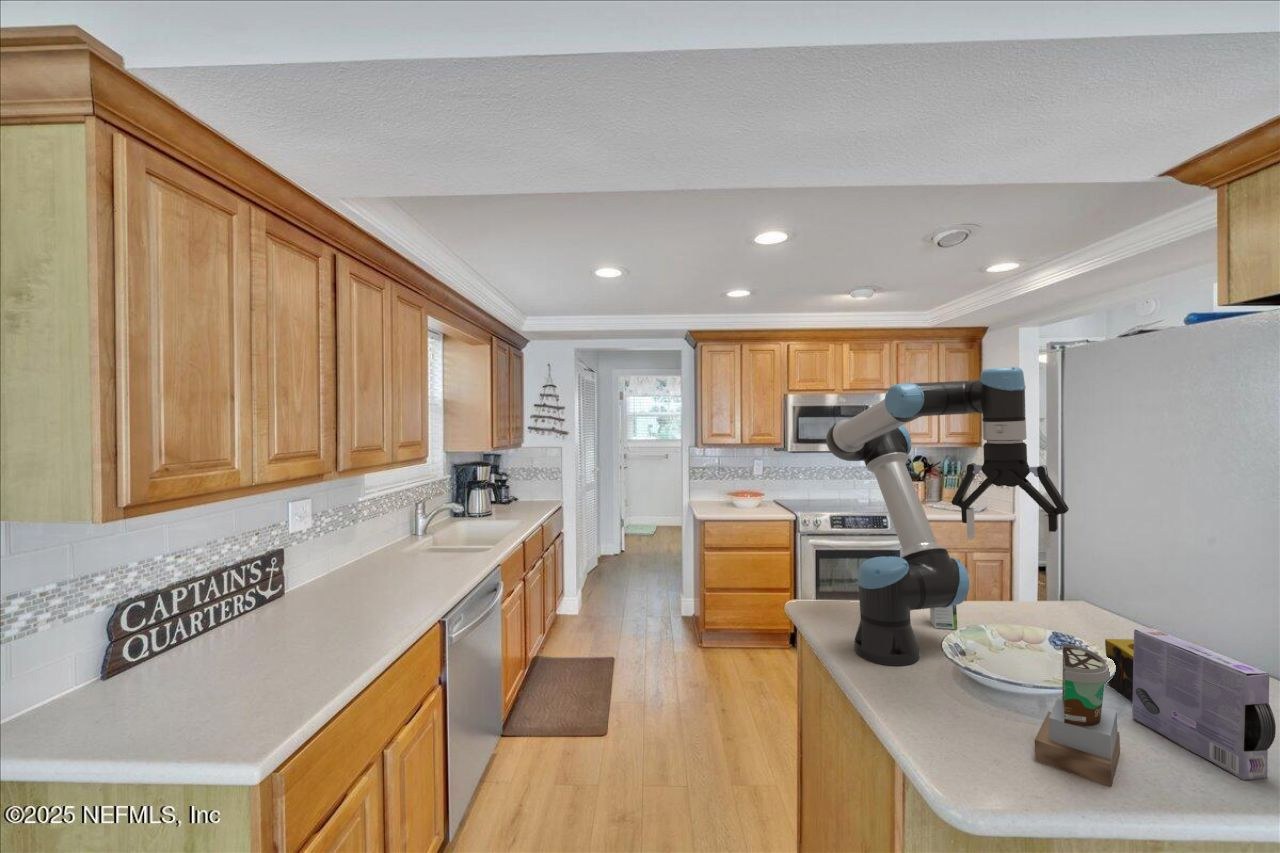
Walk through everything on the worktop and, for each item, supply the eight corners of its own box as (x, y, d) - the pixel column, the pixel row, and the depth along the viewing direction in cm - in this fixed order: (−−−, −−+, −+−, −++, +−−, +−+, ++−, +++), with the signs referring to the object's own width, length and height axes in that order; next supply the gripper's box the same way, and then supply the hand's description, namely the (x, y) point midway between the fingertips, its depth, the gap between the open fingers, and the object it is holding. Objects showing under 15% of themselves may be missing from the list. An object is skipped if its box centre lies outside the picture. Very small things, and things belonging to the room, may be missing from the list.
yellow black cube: (1199, 711, 105) (1197, 660, 105) (1138, 708, 107) (1136, 658, 107) (1160, 685, 115) (1158, 639, 115) (1105, 683, 117) (1103, 637, 117)
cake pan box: (1280, 783, 85) (1276, 671, 85) (1252, 786, 85) (1248, 674, 84) (1154, 716, 104) (1150, 625, 104) (1130, 719, 104) (1126, 628, 103)
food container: (1113, 740, 86) (1114, 678, 85) (1064, 727, 89) (1065, 667, 89) (1106, 705, 96) (1106, 649, 95) (1062, 694, 99) (1062, 641, 99)
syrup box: (934, 628, 150) (932, 576, 150) (929, 620, 156) (927, 570, 155) (957, 630, 148) (955, 577, 148) (952, 622, 154) (949, 571, 154)
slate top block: (1049, 740, 93) (1048, 717, 93) (1059, 716, 100) (1059, 695, 100) (1111, 760, 87) (1110, 735, 87) (1117, 733, 94) (1116, 710, 94)
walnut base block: (1035, 762, 93) (1034, 739, 93) (1049, 732, 102) (1048, 711, 101) (1111, 789, 86) (1110, 764, 86) (1120, 754, 94) (1119, 731, 94)
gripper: (933, 442, 119) (937, 538, 120) (1077, 443, 101) (1081, 555, 102) (945, 440, 124) (948, 531, 125) (1083, 440, 106) (1087, 547, 107)
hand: (1008, 542), depth 113 cm, fingers open, 13 cm apart
